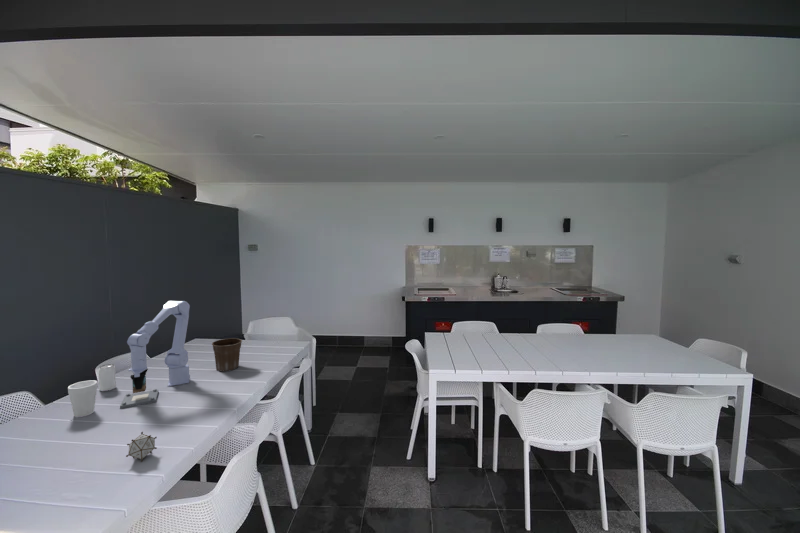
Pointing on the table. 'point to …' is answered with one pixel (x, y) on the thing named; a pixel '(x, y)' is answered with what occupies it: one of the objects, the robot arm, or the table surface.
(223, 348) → the plant pot
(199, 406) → the table surface
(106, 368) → the grey cylinder
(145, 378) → the teal and brown block
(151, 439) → the game die
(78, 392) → the foam cup
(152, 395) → the plate
